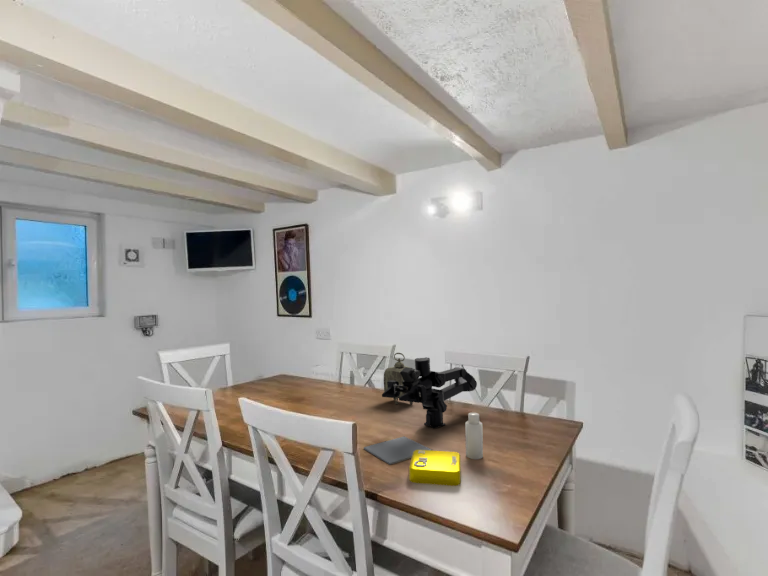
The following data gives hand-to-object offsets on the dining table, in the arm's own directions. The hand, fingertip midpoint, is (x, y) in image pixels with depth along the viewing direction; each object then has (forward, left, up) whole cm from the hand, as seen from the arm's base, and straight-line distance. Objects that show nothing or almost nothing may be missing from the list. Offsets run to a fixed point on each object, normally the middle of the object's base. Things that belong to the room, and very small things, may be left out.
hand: (390, 397), depth 150 cm
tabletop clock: (-32, -38, -17) cm, 52 cm away
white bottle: (-15, +27, -16) cm, 35 cm away
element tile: (+4, +29, -17) cm, 34 cm away
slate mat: (+3, +8, -16) cm, 18 cm away
